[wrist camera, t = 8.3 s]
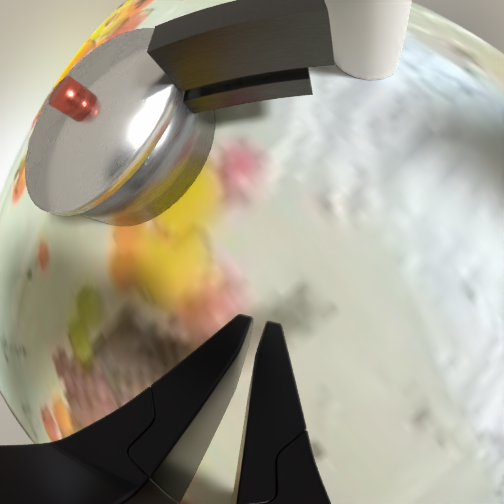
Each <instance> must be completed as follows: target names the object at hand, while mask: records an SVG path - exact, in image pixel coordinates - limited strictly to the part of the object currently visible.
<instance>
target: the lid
mask: <svg viewBox="0 0 504 504" xmlns="http://www.w3.org/2000/svg"><path fill="white" fill-rule="evenodd" d="M327 65H334V55H333V45H332V36H331V28H330V21H329V13H328V9H327V6H326V3H325V1H324V0H236V1H232V2H228V3H224V4H220V5H216V6H213V7H209V8H206V9H203V10H199V11H196V12H193V13H190V14H187V15H184V16H181V17H179V18H176V19H173V20H170V21H168V22H165V23H163V24H160V25H158V26H155V29H154V28H143V29H136V30H132V31H129V32H126V33H123V34H120V35H118V36H116V37H114V38H112V39H110V40H108V41H106V42H105V43H103V44H101V45H100V46H99V47H97V48H96V49H94V50H93V51H92V52H90V53H89V54H88V55H86V56H85V57H84V58H83V59H82V60H81V61H80V62H79V63H77V64H76V65H75V66H74V67H73V68H72V70H71V71H70V72H69V73H68V74H67V75H66V76H65V77H64V78H63V80H61V81H60V82H59V84H58V85H57V86H56V87H55V89H54V90H53V92H52V94H51V96H50V98H49V99H48V101H47V103H46V104H45V106H44V108H43V110H42V112H41V114H40V116H39V118H38V120H37V122H36V125H35V127H34V130H33V133H32V136H31V139H30V142H29V146H28V151H27V156H26V165H25V178H26V186H27V190H28V193H29V195H30V198H31V200H32V201H33V202H34V204H35V205H36V206H37V207H39V208H40V209H42V210H44V211H47V212H50V213H53V214H57V215H62V216H72V215H77V214H80V213H83V212H86V211H88V210H90V209H92V208H94V207H96V206H97V205H99V204H100V203H102V202H103V201H105V200H106V199H108V198H109V197H110V196H111V195H112V194H114V193H115V192H116V191H117V190H118V189H119V188H120V187H121V186H123V185H124V184H125V183H126V182H127V181H128V180H129V179H130V178H131V177H132V175H133V174H134V173H135V172H136V171H137V170H138V169H139V167H140V166H141V165H142V164H143V163H144V161H145V160H146V159H147V157H148V156H149V155H150V154H151V152H152V151H153V150H154V148H155V147H156V145H157V144H158V142H159V141H160V139H161V138H162V136H163V134H164V133H165V131H166V129H167V127H168V126H169V124H170V122H171V120H172V118H173V116H174V114H175V112H176V109H177V107H178V105H179V102H180V99H181V96H182V94H183V91H185V90H189V89H193V88H196V87H200V86H204V85H208V84H212V83H216V82H221V81H225V80H230V79H234V78H239V77H244V76H249V75H255V74H261V73H267V72H273V71H280V70H287V69H295V68H304V67H315V66H327Z"/></svg>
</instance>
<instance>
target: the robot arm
mask: <svg viewBox="0 0 504 504" xmlns="http://www.w3.org/2000/svg"><path fill="white" fill-rule="evenodd" d="M252 326H253V318H252V317H251V316H247V315H243V314H238V315H237V316H236V317H234V318H233V319H232V320H231V321H230V322H228V323H227V324H226V325H225V326H224V327H222V328H221V329H220V330H219V331H218V332H216V333H215V334H214V335H213V336H212V337H210V338H209V339H208V340H207V341H206V342H204V343H203V344H202V345H201V346H199V347H198V348H197V349H196V350H195V351H193V352H192V353H191V354H190V355H188V356H187V357H186V358H185V359H183V360H182V361H181V362H180V363H178V364H177V365H176V366H175V367H173V368H172V369H171V370H170V371H168V372H167V373H166V374H165V375H163V376H162V377H161V378H160V379H158V380H157V381H156V382H154V383H153V384H152V385H151V387H148V388H147V389H145V390H144V391H143V392H141V393H140V394H139V395H137V396H136V397H135V398H133V399H132V400H130V401H129V402H128V403H126V404H125V405H123V406H122V407H120V408H119V409H117V410H115V411H114V412H112V413H110V414H109V415H107V416H105V417H103V418H102V419H100V420H98V421H96V422H94V423H92V424H91V425H89V426H87V427H85V428H83V429H81V430H79V431H78V432H76V433H74V434H72V435H70V436H68V437H66V438H63V439H61V440H58V441H54V442H50V443H43V444H29V445H0V504H179V503H180V502H181V500H182V498H183V496H184V494H185V492H186V490H187V488H188V486H189V484H190V482H191V481H192V479H193V477H194V475H195V473H196V471H197V469H198V467H199V465H200V463H201V461H202V459H203V457H204V455H205V453H206V451H207V449H208V447H209V445H210V443H211V440H212V438H213V436H214V434H215V432H216V430H217V428H218V426H219V424H220V422H221V420H222V418H223V415H224V413H225V411H226V409H227V407H228V405H229V403H230V400H231V398H232V396H233V394H234V391H235V389H236V386H237V383H238V380H239V377H240V374H241V370H242V367H243V364H244V360H245V357H246V353H247V350H248V347H249V343H250V339H251V333H252ZM231 504H331V502H330V500H329V497H328V495H327V492H326V490H325V487H324V485H323V482H322V479H321V477H320V474H319V471H318V468H317V465H316V462H315V459H314V455H313V451H312V448H311V444H310V440H309V436H308V431H306V423H305V419H304V415H303V411H302V406H301V402H300V398H299V394H298V390H297V385H296V381H295V377H294V373H293V369H292V365H291V361H290V356H289V352H288V348H287V344H286V340H285V336H284V332H283V328H282V325H281V324H280V323H277V322H273V321H267V322H266V324H265V327H264V330H263V333H262V336H261V339H260V342H259V345H258V348H257V352H256V355H255V361H254V367H253V372H252V378H251V383H250V389H249V394H248V400H247V407H246V413H245V420H244V427H243V433H242V440H241V447H240V453H239V460H238V466H237V472H236V479H235V485H234V491H233V497H232V503H231Z"/></svg>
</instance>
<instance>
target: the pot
mask: <svg viewBox="0 0 504 504" xmlns="http://www.w3.org/2000/svg"><path fill="white" fill-rule="evenodd" d="M302 95H313V94H312V87H311V80H310V74H309V69H308V67H304V68H295V69H287V70H280V71H273V72H267V73H261V74H255V75H249V76H244V77H239V78H234V79H230V80H225V81H221V82H216V83H212V84H208V85H204V86H200V87H196V88H193V89H189V90H185V91H183V94H182V96H181V99H180V102H179V105H178V107H177V109H176V112H175V114H174V116H173V118H172V120H171V122H170V124H169V126H168V127H167V129H166V131H165V133H164V134H163V136H162V138H161V139H160V141H159V142H158V144H157V145H156V147H155V148H154V150H153V151H152V152H151V154H150V155H149V156H148V157H147V159H146V160H145V161H144V163H143V164H142V165H141V166H140V167H139V169H138V170H137V171H136V172H135V173H134V174H133V175H132V177H131V178H130V179H129V180H128V181H127V182H126V183H125V184H124V185H123V186H121V187H120V188H119V189H118V190H117V191H116V192H115V193H114V194H112V195H111V196H110V197H109V198H108V199H106V200H105V201H103V202H102V203H100V204H99V205H97V206H96V207H94V208H92V209H90V210H88V211H86V212H83V213H80V215H83V216H86V217H89V218H92V219H96V220H99V221H102V222H105V223H108V224H111V225H116V226H132V225H137V224H141V223H143V222H146V221H149V220H151V219H152V218H154V217H156V216H158V215H160V214H161V213H163V212H164V211H166V210H167V209H168V208H169V207H171V206H172V205H173V204H174V203H175V202H177V201H178V200H179V198H180V197H181V196H182V195H183V194H184V193H185V192H186V191H187V190H188V189H189V187H190V186H191V185H192V183H193V182H194V181H195V179H196V178H197V176H198V175H199V173H200V171H201V170H202V168H203V166H204V164H205V162H206V160H207V157H208V155H209V152H210V150H211V146H212V142H213V139H214V131H215V116H214V110H213V109H218V108H223V107H228V106H233V105H239V104H244V103H250V102H256V101H263V100H270V99H277V98H284V97H293V96H302Z"/></svg>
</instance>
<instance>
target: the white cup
mask: <svg viewBox="0 0 504 504" xmlns="http://www.w3.org/2000/svg"><path fill="white" fill-rule="evenodd" d="M324 1H325V3H326V6H327V9H328V13H329V21H330V28H331V36H332V45H333V55H334V61H335V64H336V65H337V66H338V67H339V68H340V69H341V70H342V71H343V72H345V73H347V74H349V75H351V76H353V77H356V78H361V79H366V80H381V79H384V78H387V77H389V76H391V75H393V73H394V72H395V71H396V70H397V68H398V64H399V60H400V56H401V52H402V47H403V43H404V38H405V33H406V28H407V23H408V18H409V13H410V7H411V1H412V0H324Z"/></svg>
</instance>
